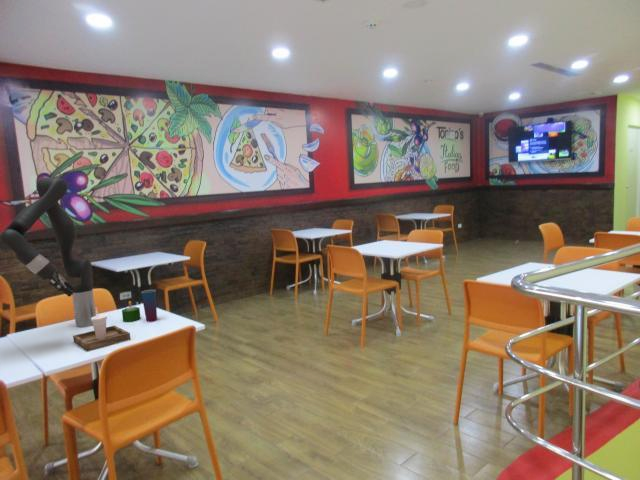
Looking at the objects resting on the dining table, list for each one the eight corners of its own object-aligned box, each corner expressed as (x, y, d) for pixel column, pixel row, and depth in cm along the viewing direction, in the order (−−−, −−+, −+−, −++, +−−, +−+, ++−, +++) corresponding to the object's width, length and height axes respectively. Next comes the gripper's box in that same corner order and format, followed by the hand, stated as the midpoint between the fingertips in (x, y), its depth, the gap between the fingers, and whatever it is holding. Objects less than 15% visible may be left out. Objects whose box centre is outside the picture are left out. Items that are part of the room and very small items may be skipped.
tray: (73, 342, 202) (72, 335, 201) (115, 331, 214) (114, 325, 214) (87, 351, 189) (86, 344, 188) (130, 339, 201) (129, 332, 201)
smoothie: (96, 336, 204) (93, 306, 202) (111, 335, 204) (107, 305, 203) (90, 341, 198) (87, 310, 196) (105, 340, 198) (102, 308, 196)
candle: (136, 322, 228) (134, 302, 227) (120, 322, 228) (118, 303, 227) (143, 317, 236) (141, 298, 235) (127, 317, 236) (125, 299, 235)
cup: (154, 322, 225) (150, 292, 223) (141, 322, 226) (138, 293, 225) (161, 318, 232) (158, 289, 230) (149, 318, 233) (146, 289, 231)
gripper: (46, 264, 187) (78, 290, 193) (50, 257, 200) (80, 282, 206) (31, 277, 185) (63, 303, 192) (36, 269, 198) (66, 294, 204)
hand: (72, 292), depth 199 cm, fingers open, 8 cm apart
